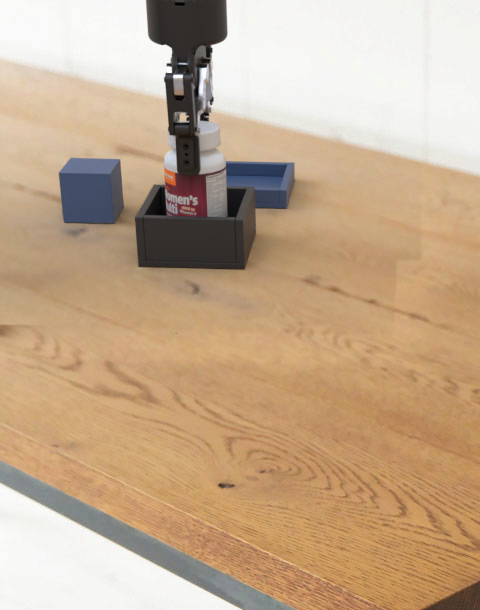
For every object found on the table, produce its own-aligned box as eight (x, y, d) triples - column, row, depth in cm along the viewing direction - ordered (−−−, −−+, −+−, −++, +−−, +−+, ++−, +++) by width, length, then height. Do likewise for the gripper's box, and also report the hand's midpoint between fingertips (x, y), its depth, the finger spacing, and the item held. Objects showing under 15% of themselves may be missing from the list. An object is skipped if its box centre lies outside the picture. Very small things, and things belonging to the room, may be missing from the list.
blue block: (63, 222, 145) (58, 172, 143) (74, 206, 150) (70, 157, 147) (114, 223, 145) (110, 173, 142) (124, 207, 150) (120, 158, 147)
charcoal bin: (138, 266, 134) (134, 217, 131) (156, 230, 143) (153, 184, 141) (244, 269, 134) (242, 219, 131) (256, 233, 143) (254, 186, 140)
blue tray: (165, 205, 151) (164, 187, 150) (180, 177, 160) (179, 159, 159) (286, 208, 150) (286, 190, 149) (294, 179, 159) (294, 162, 158)
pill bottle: (155, 240, 137) (148, 129, 131) (191, 223, 141) (185, 115, 136) (206, 251, 134) (200, 138, 129) (240, 233, 139) (236, 123, 133)
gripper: (159, -26, 132) (168, 143, 140) (131, 1, 120) (143, 185, 128) (235, -24, 132) (240, 144, 140) (215, 3, 120) (222, 187, 128)
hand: (194, 163), depth 134 cm, fingers closed on pill bottle, 6 cm apart
